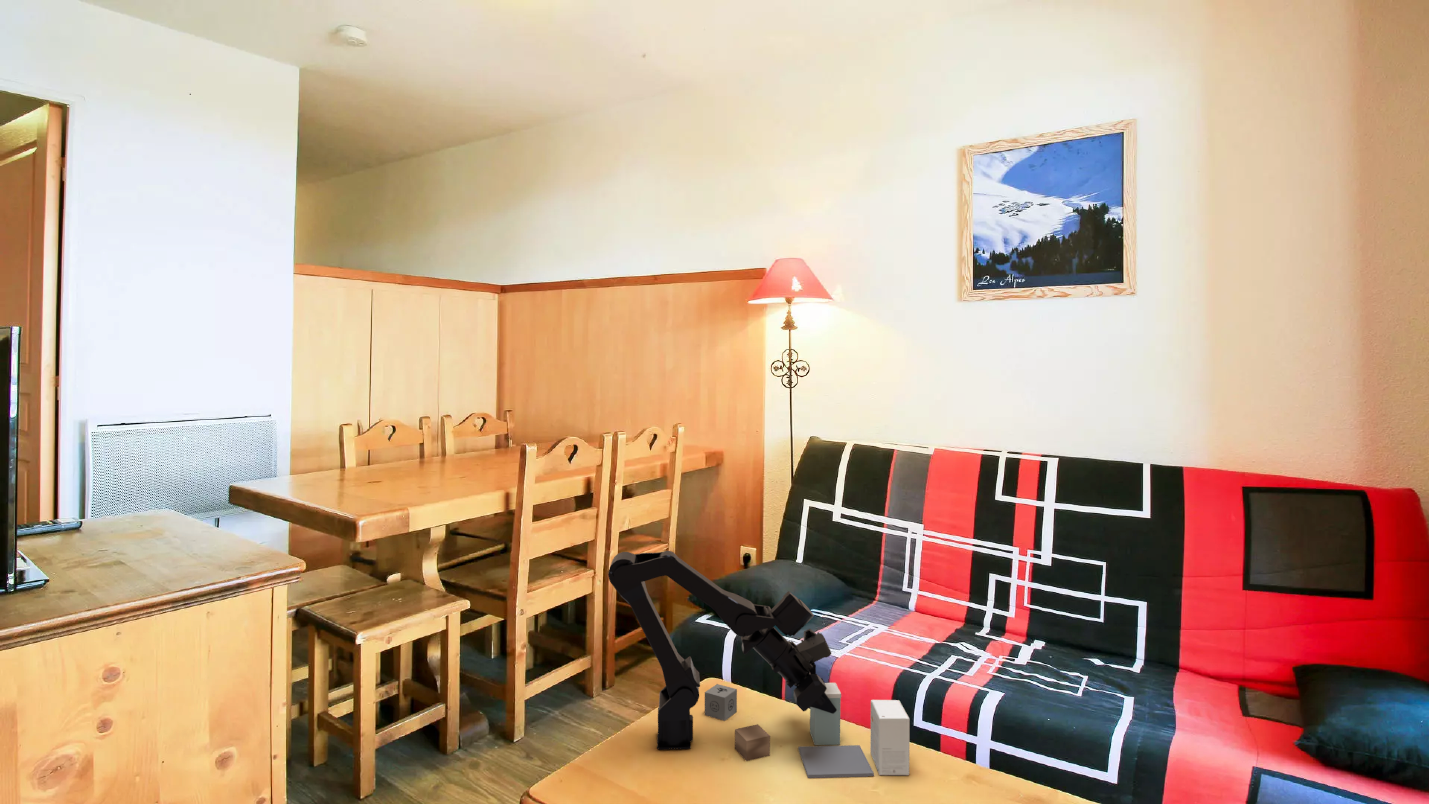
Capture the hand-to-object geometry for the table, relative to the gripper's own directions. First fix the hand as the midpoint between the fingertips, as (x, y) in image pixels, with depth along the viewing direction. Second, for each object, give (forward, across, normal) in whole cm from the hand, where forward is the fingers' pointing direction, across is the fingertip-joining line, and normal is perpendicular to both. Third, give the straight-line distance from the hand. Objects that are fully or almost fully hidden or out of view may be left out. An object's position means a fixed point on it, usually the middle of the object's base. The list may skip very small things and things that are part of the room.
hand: (832, 705), depth 143 cm
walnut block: (-7, -4, +16) cm, 18 cm away
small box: (+11, -10, -1) cm, 15 cm away
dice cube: (-10, +12, +20) cm, 25 cm away
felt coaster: (+4, -9, +6) cm, 11 cm away
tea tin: (+4, 0, +6) cm, 7 cm away
